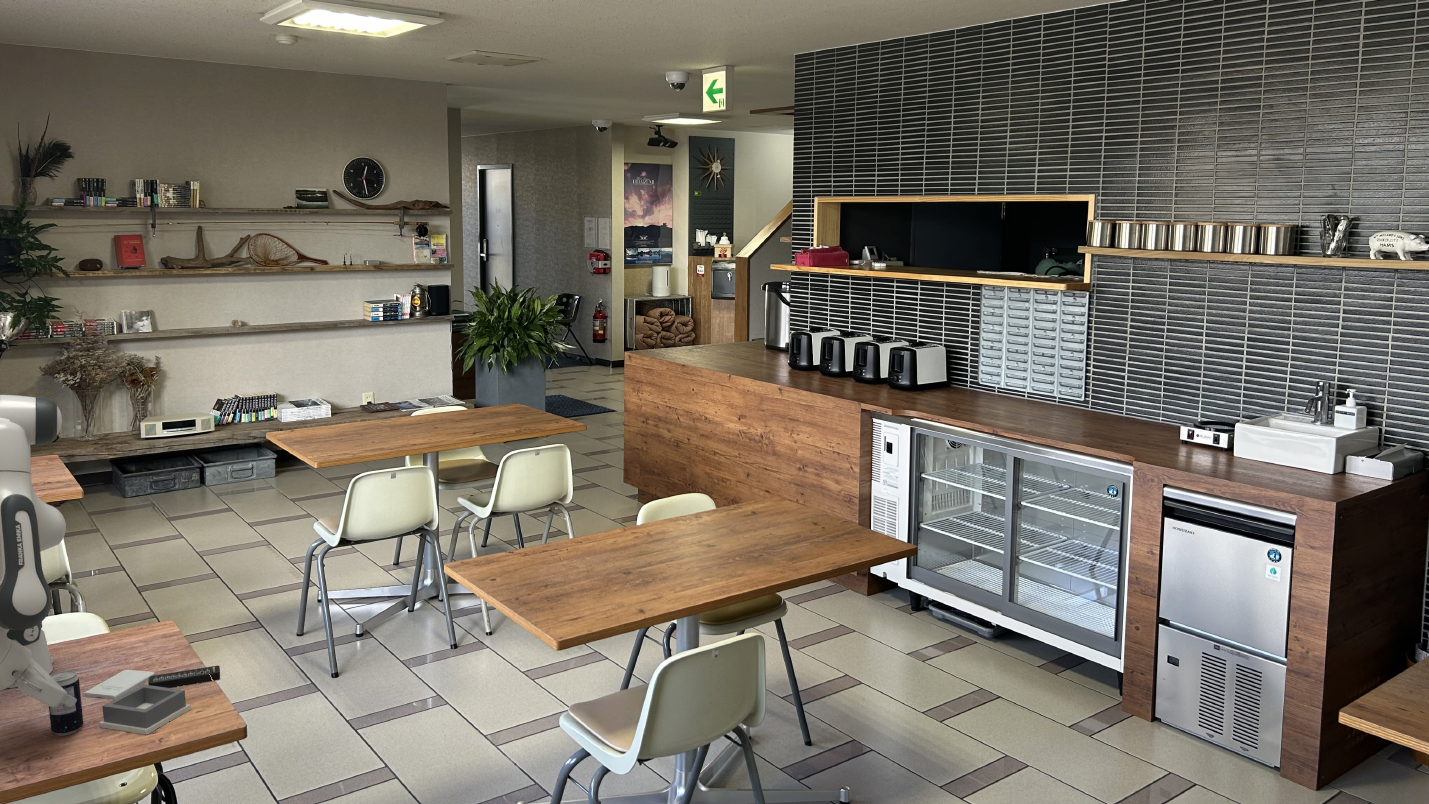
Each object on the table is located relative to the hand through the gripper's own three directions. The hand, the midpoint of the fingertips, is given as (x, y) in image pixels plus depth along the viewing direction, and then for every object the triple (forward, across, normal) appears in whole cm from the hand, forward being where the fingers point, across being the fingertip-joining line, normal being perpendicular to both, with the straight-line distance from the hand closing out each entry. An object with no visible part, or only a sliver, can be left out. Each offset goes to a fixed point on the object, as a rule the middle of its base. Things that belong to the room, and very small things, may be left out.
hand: (67, 696), depth 215 cm
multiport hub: (+23, +8, -12) cm, 27 cm away
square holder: (+14, -6, -4) cm, 15 cm away
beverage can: (+5, 0, +6) cm, 7 cm away
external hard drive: (+16, +16, -4) cm, 22 cm away
